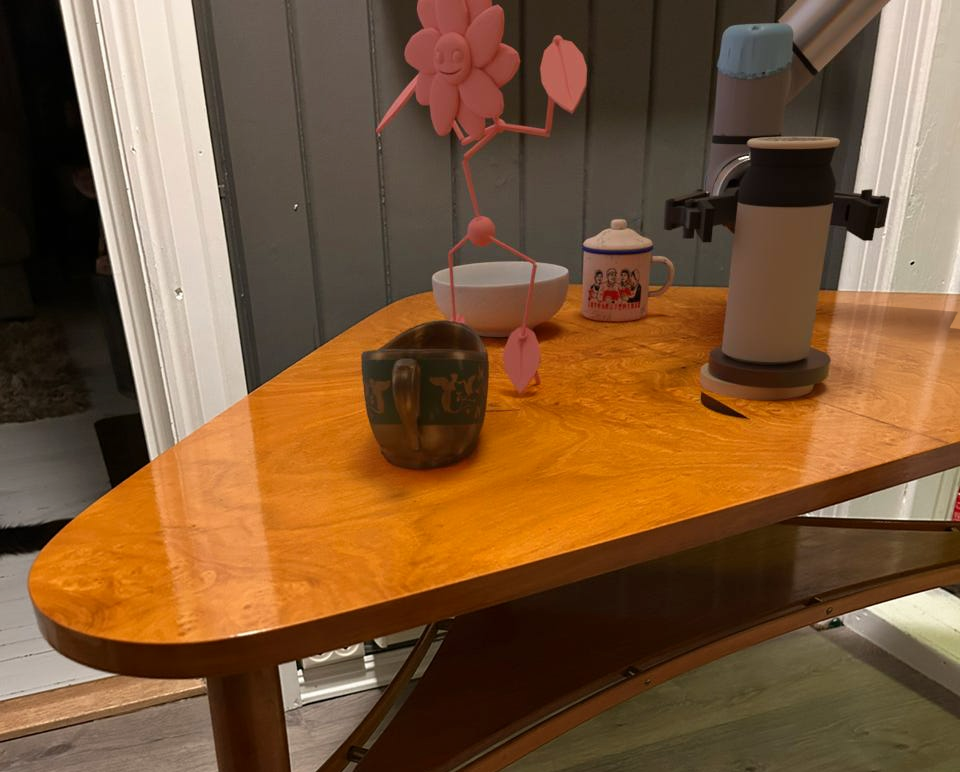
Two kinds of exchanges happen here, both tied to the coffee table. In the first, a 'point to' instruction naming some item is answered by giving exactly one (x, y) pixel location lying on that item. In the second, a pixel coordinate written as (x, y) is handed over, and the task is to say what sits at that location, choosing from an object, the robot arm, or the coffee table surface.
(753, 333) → the travel mug
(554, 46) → the figurine
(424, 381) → the cup
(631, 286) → the teacup with lid
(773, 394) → the coaster pile
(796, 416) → the coffee table surface
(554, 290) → the cereal bowl
